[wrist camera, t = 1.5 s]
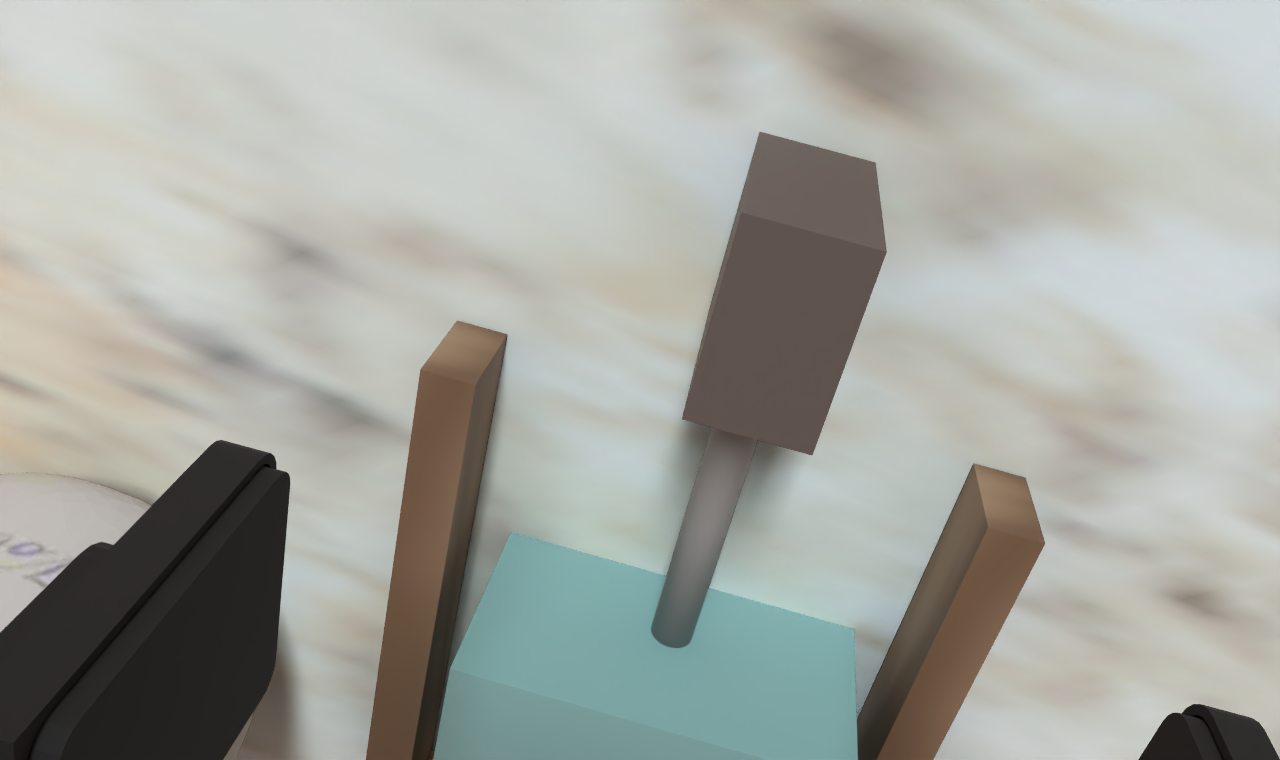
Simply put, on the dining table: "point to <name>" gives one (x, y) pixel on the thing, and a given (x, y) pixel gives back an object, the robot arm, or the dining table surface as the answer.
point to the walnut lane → (441, 528)
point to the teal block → (696, 528)
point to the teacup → (57, 535)
